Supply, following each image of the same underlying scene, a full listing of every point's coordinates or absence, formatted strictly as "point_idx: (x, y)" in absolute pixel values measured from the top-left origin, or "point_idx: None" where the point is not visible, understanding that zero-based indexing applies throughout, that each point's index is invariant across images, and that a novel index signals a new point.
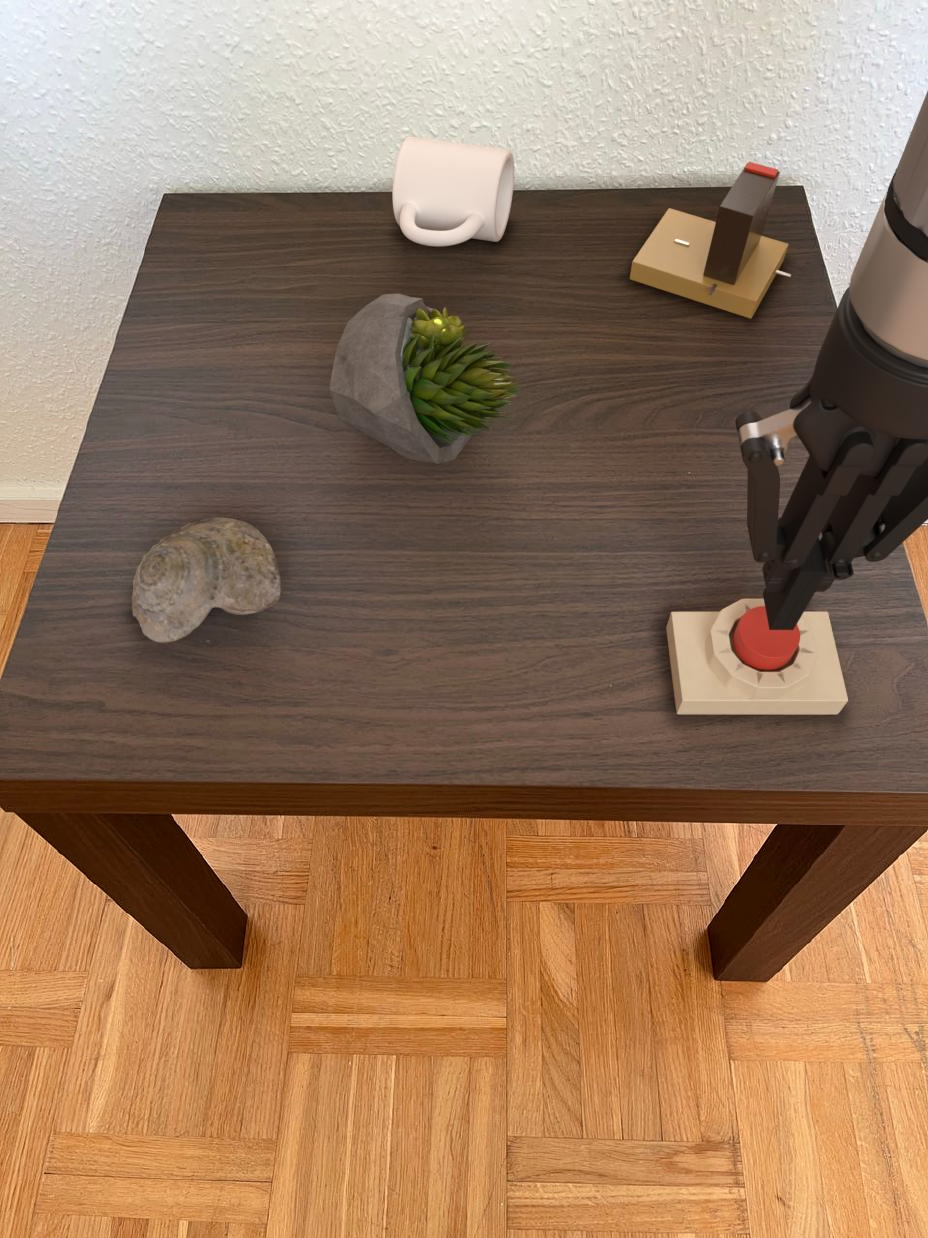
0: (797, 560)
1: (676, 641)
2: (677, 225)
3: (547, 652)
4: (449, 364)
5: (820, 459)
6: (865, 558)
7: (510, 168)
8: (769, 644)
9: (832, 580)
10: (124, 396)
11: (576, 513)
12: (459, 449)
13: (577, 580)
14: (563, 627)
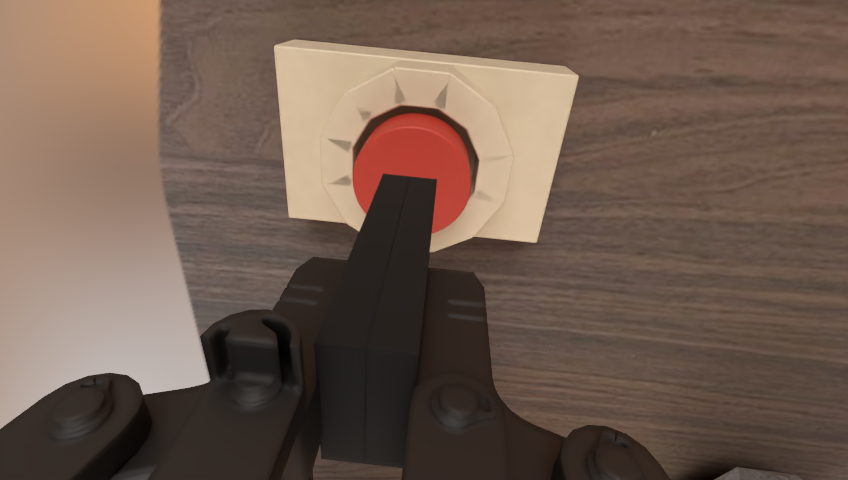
0: (449, 424)
1: (547, 192)
2: None
3: (727, 199)
4: None
5: None
6: (141, 400)
7: None
8: (418, 157)
9: (288, 291)
10: None
11: (590, 382)
12: (725, 478)
13: (629, 300)
14: (682, 236)
